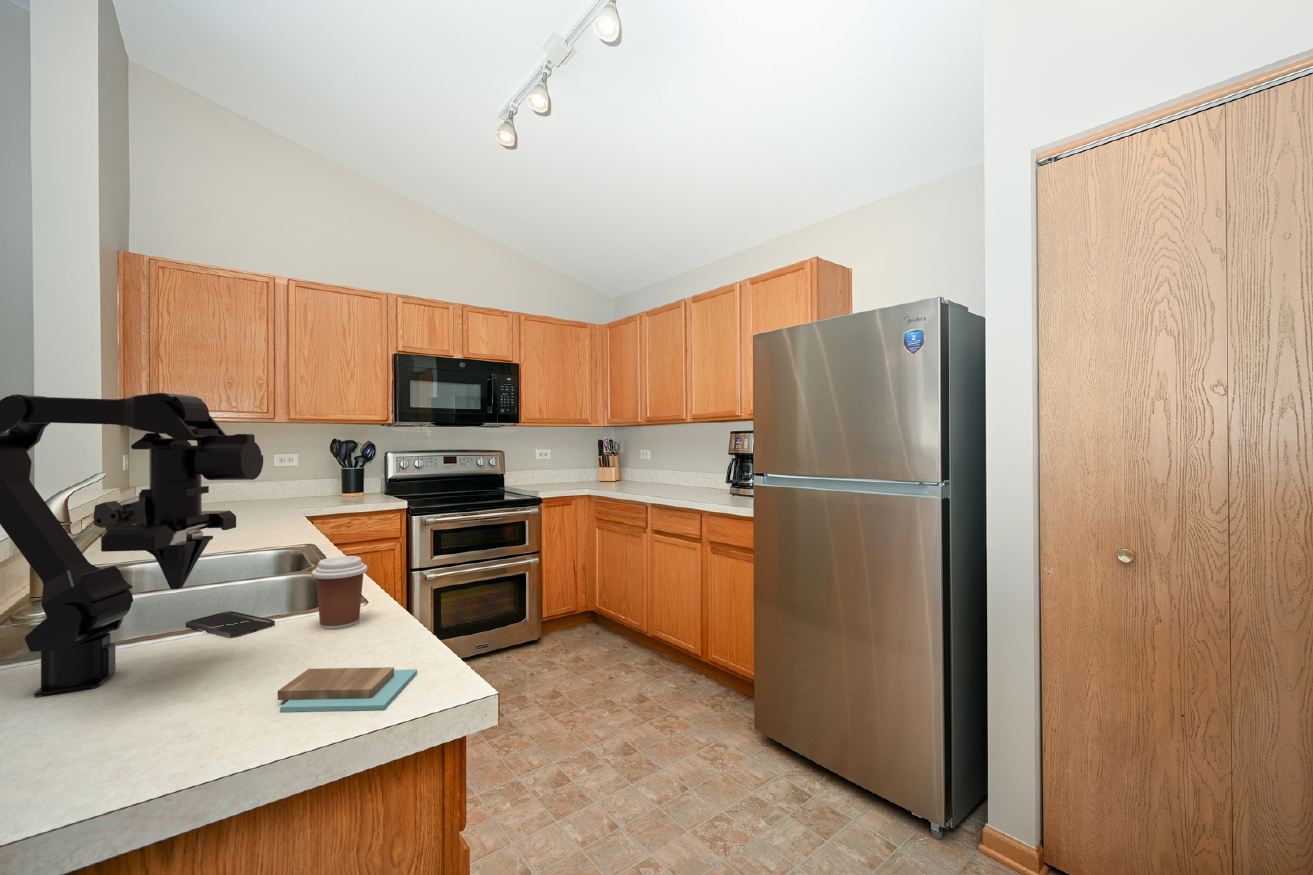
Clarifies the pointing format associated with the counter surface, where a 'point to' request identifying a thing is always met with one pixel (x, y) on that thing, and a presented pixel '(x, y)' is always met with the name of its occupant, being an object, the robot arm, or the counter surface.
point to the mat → (374, 703)
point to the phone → (230, 618)
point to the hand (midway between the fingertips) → (176, 588)
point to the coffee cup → (339, 591)
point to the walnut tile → (336, 683)
